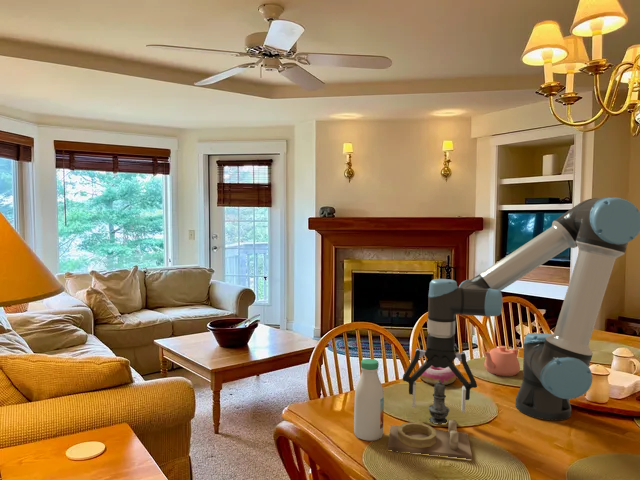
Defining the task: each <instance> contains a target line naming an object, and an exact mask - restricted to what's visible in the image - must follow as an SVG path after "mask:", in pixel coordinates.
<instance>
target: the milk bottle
mask: <svg viewBox="0 0 640 480" xmlns="http://www.w3.org/2000/svg"><path fill="white" fill-rule="evenodd" d="M379 365H380V364H379V360H377V359H374V358H365V359H362V360H361V361H360V370H361V374H360V376H359V379H358V381H357V383H356V385H355V391H354V410H353V411H354V412H353V416H354V417H353V418H354V419H353V432H354V435H355V437H356V438H357V439H359V440H362V441H368V442H369V441H370V442H373V441H378V440H380V439H381V438H382V437H383V436H384V413H385V411H384V410H385V406H384V405H385V401H384V399H385V398H384V388H383V385H382V383H381V379H380V377H379V373H378V371H379ZM379 438H380V439H379ZM377 439H378V440H377Z"/></svg>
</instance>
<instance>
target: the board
mask: <svg viewBox="0 0 640 480" xmlns="http://www.w3.org/2000/svg"><path fill="white" fill-rule="evenodd" d="M457 425H458V424H457V421H456V420H454V419H449V420H448V430H441V429H440V430H439V429H435V428H434V427H432V426H431V425H429V424H425V423H422V422H413V421H411V422H405V423H402V424H401V425H395V424H394V425H393V424H391V425H390V428H389V435H388V440H387V441H388V442H387V451H388V450H392V451H398V452H410V453H421V454H429V455H438V456H439V455H440V456H448V457H457V458H466V459H472V460H473V453H472V451H471V450H472V449H471V446H470V445H471V444H470V440H469V435H468V432H459V431H458V430H457ZM398 452H397V453H398Z"/></svg>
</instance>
